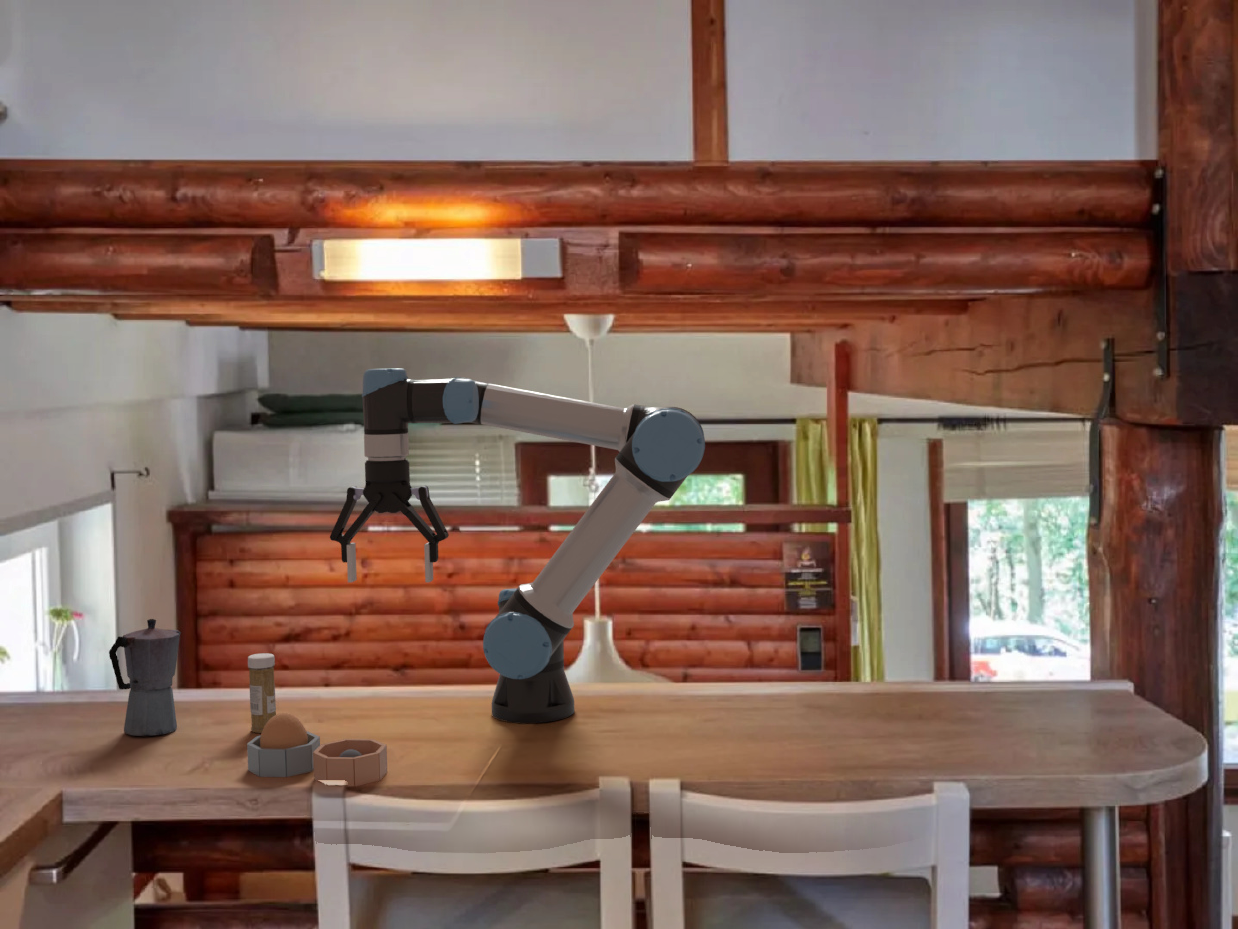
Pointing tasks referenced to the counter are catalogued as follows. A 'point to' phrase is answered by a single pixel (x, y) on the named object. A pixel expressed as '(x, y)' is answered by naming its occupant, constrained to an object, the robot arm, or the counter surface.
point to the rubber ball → (350, 753)
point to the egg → (283, 732)
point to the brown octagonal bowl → (351, 761)
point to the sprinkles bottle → (261, 690)
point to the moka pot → (148, 679)
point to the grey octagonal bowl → (281, 758)
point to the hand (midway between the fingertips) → (390, 581)
